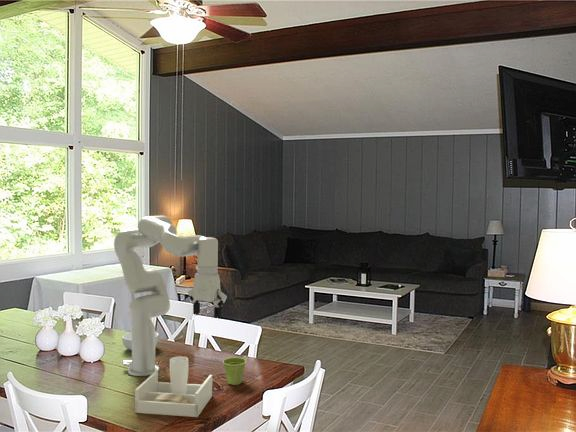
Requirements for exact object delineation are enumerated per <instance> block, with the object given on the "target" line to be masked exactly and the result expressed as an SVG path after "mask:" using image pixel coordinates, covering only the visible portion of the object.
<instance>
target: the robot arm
mask: <svg viewBox="0 0 576 432" xmlns="http://www.w3.org/2000/svg"><path fill="white" fill-rule="evenodd" d="M177 231H178V230H177V227H176V226H175V225H173V221H172V220H171V219H170V218H169V217H168V216H166V215H149V216H144V217H141V219H140V220H139V221H138V223H137V228H127V229H123V230H120V231H119V232H118V233H116V235H115V237H114V241H113V247H114V252H115V254H116V256H117V259H118V261H119V264H120V266H121V269H122V270H121V271H122V273H123V278H124V280H125V284H126V288H127V290H128V292H129V293H130V294H131V295H132V294H133V295H138V294H139V295H140V294H146V293H149V294H147V295H140V296H137V297H135V298H133V299H132V300H131V302H130V303H129V305H128V308H129V309H128V310H129V315H130V316H129V317H130V322H131V332H132V350H131V360H129V359H127V360H126V359H124V360H122V367H127V368H128V369H127V373H128V374H129V375H130V376H134V377H147V376H148V377H149V376H151V375H152V374H153V373H154V372H155V371H158V372H160V366H159V365H156V345H155V332H156V327H155V324H154V323H153V321H152V318H156V317H160V316H164V315H166V314H168V313H169V310H170V307H171V302H170V298H169V295H168V294H169V293H168V290H167V287H166V283H165V280H164V277H163V275H162V274H161V272H160V271H159V270H157V269H152V268H149V269H145V267H144V265H143V261H142V259H141V257H140V255H138V253H137V252H135V249H145V248H152V247H154V246H155V245H158V243H160V245H161V247H162V248H163V250H164V251H165V252H167V253H168V254H171V255H173V256H175V257H181V258H182V257H190V256H197V260H196V261H197V265H196V266H195V268H194V269H195V270H196V273H195V274H194V278H193V283H192V284H193V285H192V289H190V290H188V291H187V295H188V296H189V299H190V301H191V304H192V307H193V309H192V311H193V313H192V314H193V316H194V315H198V314H200V312H201V303H200V302H205V303H206V302H207V303H213V304H214V306H215V307H214V308H213V310H214V311H213V317H214V319H218V318H221V315H222V307H223V305H224V304H225V303H226V300H227V299H228V296H227V294H225V293H224V292H222V289H221V281H220V279H221V278H220V275H219V273H218V271H219V269H218V264H219V263H218V261H219V260H218V259H219V254H218V252H219V241H218V239H217V238H215V237H212V236H207V237H206V236H205V235H199V234H196V235H183V236H180V235H177V233H178V232H177Z"/></svg>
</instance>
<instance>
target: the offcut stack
mask: <svg viewBox="0 0 576 432" xmlns="http://www.w3.org/2000/svg"><path fill="white" fill-rule="evenodd" d="M182 398H183V395H177V394H162V393H160V395H159V396H158V397H157V398H156V399H155V401H157V402H172V403H187V404H188V400H185V399H182Z"/></svg>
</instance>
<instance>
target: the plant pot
mask: <svg viewBox="0 0 576 432" xmlns="http://www.w3.org/2000/svg"><path fill="white" fill-rule="evenodd" d="M246 363H247V360H246V358H242V357H228V358H225V359H223V360H222V364H223V367H224V369H225V370H224V371H225V378H226V380H225V381H226V384H228V385H232V386H237V385H241V383H243V381H244V380H243V379H244V371H245V366H246Z"/></svg>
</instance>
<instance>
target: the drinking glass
mask: <svg viewBox="0 0 576 432" xmlns="http://www.w3.org/2000/svg"><path fill="white" fill-rule="evenodd" d="M188 376H189V358H188V357H187V356H181V355H179V356H174V357H171V358H170V359H169V379H170V382H169V383H171V393H176V394H186V391H187V384H188V379H189V377H188Z"/></svg>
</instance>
